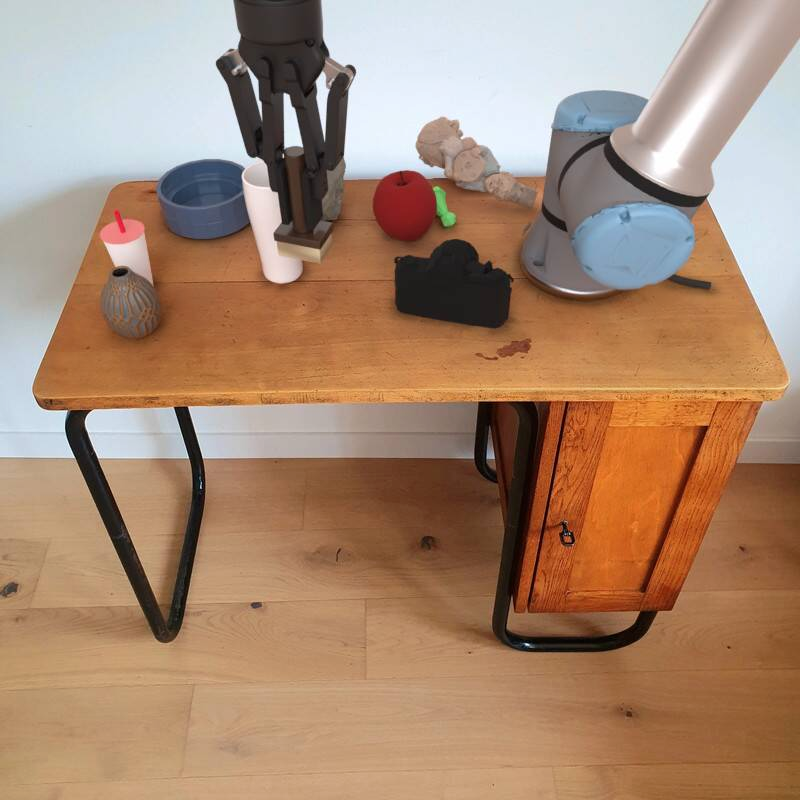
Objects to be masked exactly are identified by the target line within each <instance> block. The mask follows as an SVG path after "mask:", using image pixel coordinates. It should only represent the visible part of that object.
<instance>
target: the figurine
mask: <svg viewBox="0 0 800 800" xmlns="http://www.w3.org/2000/svg"><path fill="white" fill-rule="evenodd" d="M463 136H464V132H463V130H462V129H461V128H460V121H459V120H458V119H452V120H451V119H448V117H446V116H440V117H437V118H436V119H434V120H431V121H429V122H428V123H426V124H425V125H424V126H423V127H422V128H421V130H420V132H419V133H418V135H417V140H416V142H415V149H416V151H417V154H418V160H421V162H423V164H424V165H427V166H429V167H430V168H434V167H437V168H440V169H441V170H442V169H443V170H444V171H443V175H444V177H445V178H446V179H448V180H451V181H454V182H455V185H456V186H457V187H459V188H460V189H462V190H467V191H474V192H481V193H482V194H483V193H484V194H486V193H488V194H489V195H491V196H493V198H495V199H496V200H497V201H498V202H506V203H513V204H516V205H518V206H522V207H525V208H529V209H532V208H533V207H534V204H535V202H536V199H537V196H538V193H539V191H538V190H536V189H534V188H532V187H530V186H528V185H526V184H524V183H521V182H519V181H518V180H516V178H515V176H514V175H513V174H511V172H509V171H500V169H501V167H502V166H501V165H500V163H499V162H498V160H497V158H496V157H495V155H494V154H493V152H492V150H491V149H490V148H489V147H488V146H486V145H484V144H483V145H482V144H478V143H477V142H476V140H475V139H474V138H473V137H471V136H466V137H464V138H462V137H463Z"/></svg>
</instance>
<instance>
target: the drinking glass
mask: <svg viewBox="0 0 800 800" xmlns="http://www.w3.org/2000/svg"><path fill="white" fill-rule="evenodd" d="M242 184H243V192H244V198H245V203H246V208H247V212H248V215H249V219H250V222H249V224H250V226H251V229H252V233H253V236H254V240H255V244H256V248H257V251H258V254H259V258H260V263H261V269H262V273H263V275H264V277H265V278H266V279H267V280H268V281H269V282H271V283H274V284H278V285H279V284H282V285H283V284H289V283H292V282H294V281H296V280H298V279H299V278H300V277H301V275H302V274H303V272H304V264H303V263H304V262H303V260H299V259H294V258H289V257H284V256H279V254H278V247H277V241H274V235H273V233H274V232H275V230H276V229H277V228H278V226H279V225H280V224H281V222H282V220H281V213H280V206H279V199H278V193H277V192H272V190H271V188H270V184H269V177H268V170H267V165H266V164H265V163H264V161H263V160H259V161H256V162H254V163H251V164H249V165H247V167H246V168H245V170H244V171H243V173H242Z"/></svg>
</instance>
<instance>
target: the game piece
mask: <svg viewBox="0 0 800 800" xmlns="http://www.w3.org/2000/svg"><path fill="white" fill-rule="evenodd" d="M432 188H433V190H434V192H435V195H436V200H437V212H436V216H437V217H440V220H441V222H442V225H443V227H446V228H451V227H453V226H454V224H456V222H457V221H458V220H457V216H456V215H455V213H454V212H451V211H449V210H448V205H447V202H446V196H447V192H446V191H445V190H444V189H442V188H441V187H440V186H433V187H432Z"/></svg>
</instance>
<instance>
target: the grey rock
mask: <svg viewBox="0 0 800 800" xmlns="http://www.w3.org/2000/svg"><path fill="white" fill-rule="evenodd" d="M346 167H347V164H346V160H345V156H344V157H343V158H342V160H341V161H340V163H339V164H338V165H337V167H336V168H335V169H334V170H333V171H329V170H327V178H328V192H327V194H326V195H325V197H324V198H323V199H322V208H323V217H322V219H321V220H320V221H325V222H328V221H332V220H333V221H335V220H338V217H339V215H340V213H341V210H342V203H343V199H344V196H345V191H344V189H345V185H346V184H345V183H346V182H345V179H344V176H345V173H346Z"/></svg>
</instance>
